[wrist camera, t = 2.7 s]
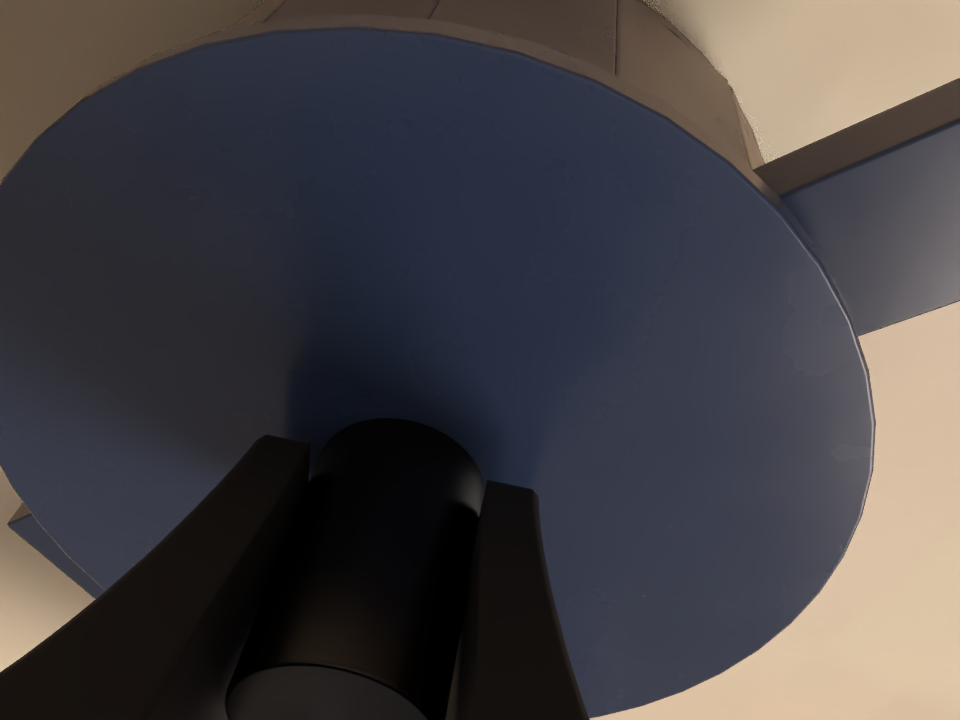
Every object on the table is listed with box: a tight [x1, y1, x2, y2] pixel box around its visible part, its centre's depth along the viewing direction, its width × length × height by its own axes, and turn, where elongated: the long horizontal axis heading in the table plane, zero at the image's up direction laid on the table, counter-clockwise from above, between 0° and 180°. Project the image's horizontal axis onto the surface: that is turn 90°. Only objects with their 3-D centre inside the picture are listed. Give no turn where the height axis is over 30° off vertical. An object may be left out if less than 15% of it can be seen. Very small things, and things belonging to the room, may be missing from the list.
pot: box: [7, 0, 960, 599], centre depth 15 cm, size 12×17×6 cm
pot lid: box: [0, 14, 876, 720], centre depth 12 cm, size 13×13×5 cm
